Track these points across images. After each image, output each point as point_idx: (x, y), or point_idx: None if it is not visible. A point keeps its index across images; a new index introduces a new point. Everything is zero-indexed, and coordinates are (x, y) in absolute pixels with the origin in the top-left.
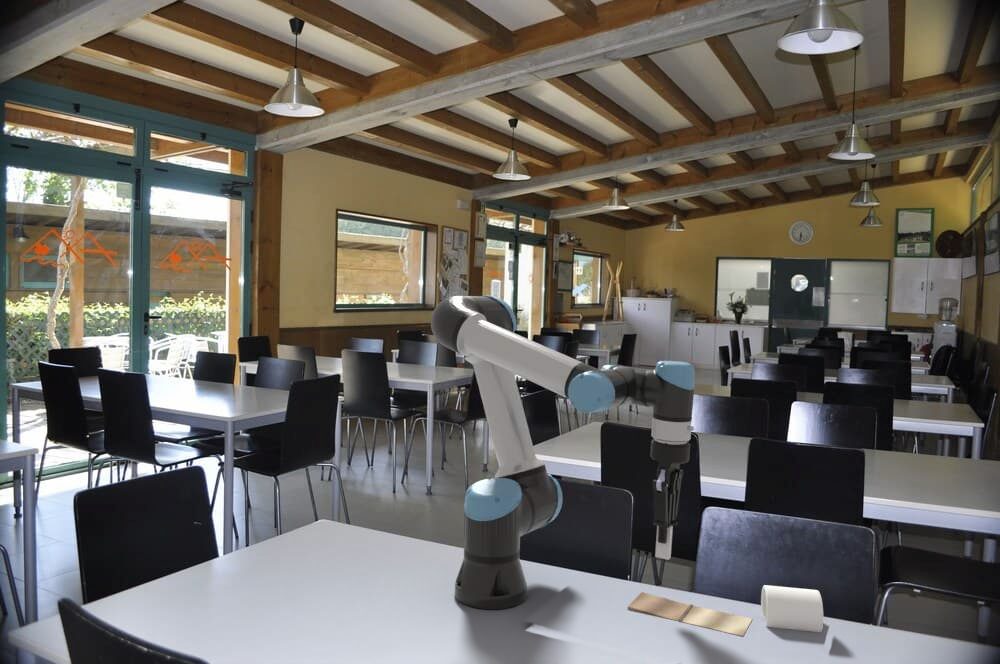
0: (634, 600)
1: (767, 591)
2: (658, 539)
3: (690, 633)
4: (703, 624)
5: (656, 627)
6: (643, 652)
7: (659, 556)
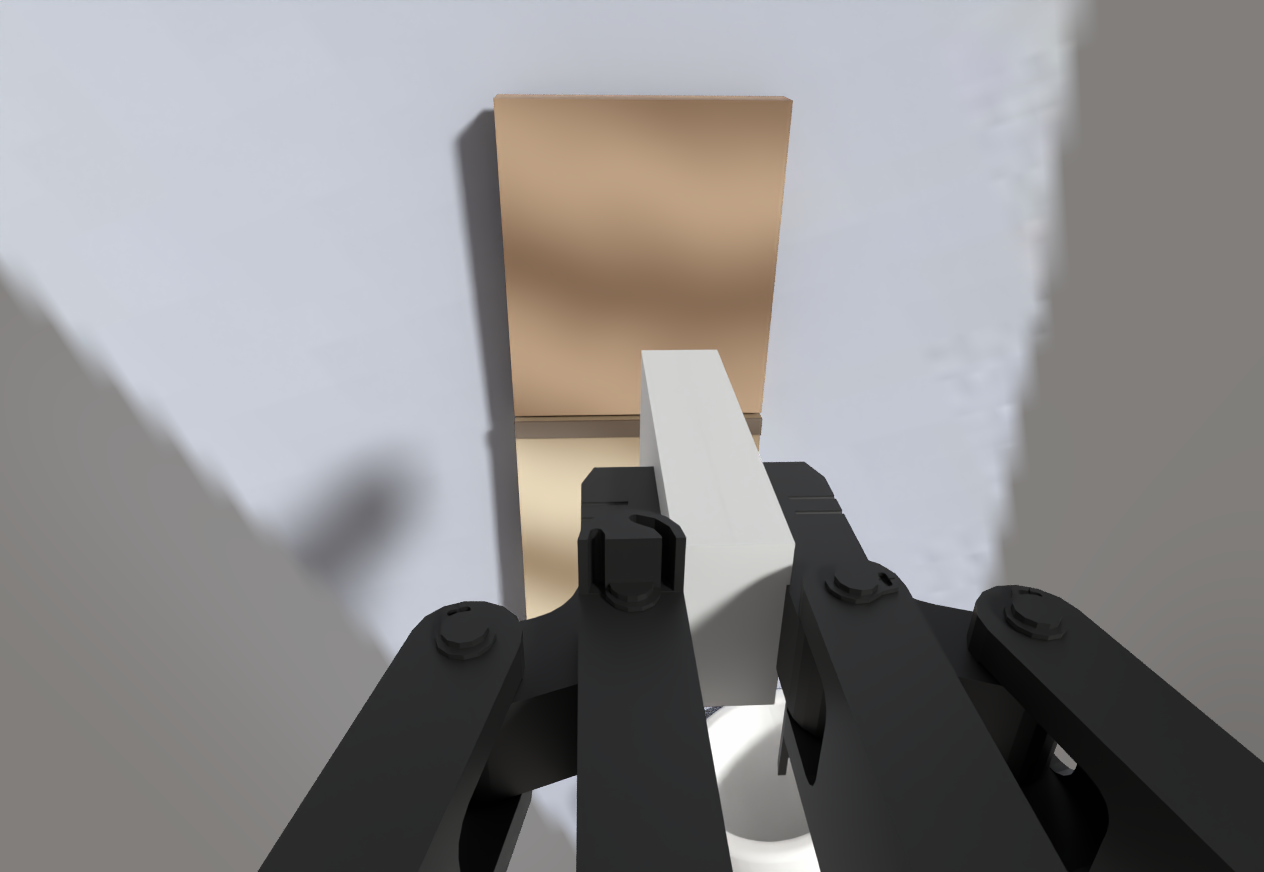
0: (617, 104)
1: (752, 863)
2: (583, 494)
3: (492, 471)
4: (545, 534)
5: (450, 307)
6: (120, 342)
7: (641, 397)
